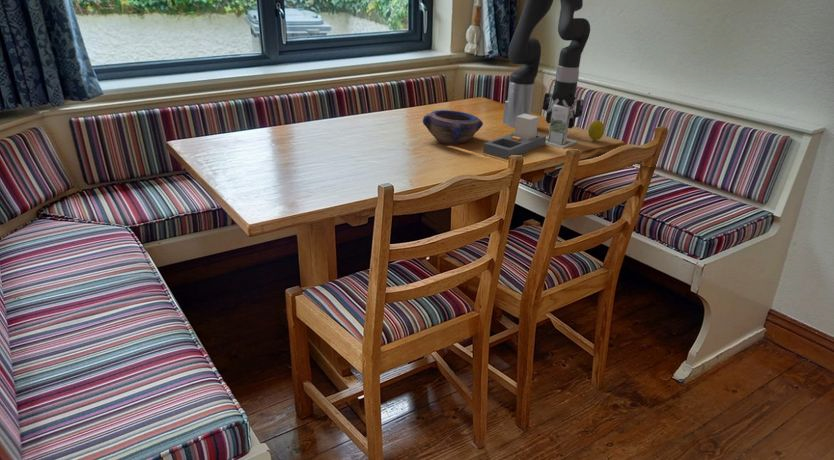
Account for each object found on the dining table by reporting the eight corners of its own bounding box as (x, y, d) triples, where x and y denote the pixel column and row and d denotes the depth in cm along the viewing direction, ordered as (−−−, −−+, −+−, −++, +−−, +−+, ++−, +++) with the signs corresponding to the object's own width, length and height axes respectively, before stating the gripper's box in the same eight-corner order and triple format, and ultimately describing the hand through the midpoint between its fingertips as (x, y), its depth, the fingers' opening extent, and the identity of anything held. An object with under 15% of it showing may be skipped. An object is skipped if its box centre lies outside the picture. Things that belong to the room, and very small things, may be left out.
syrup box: (566, 143, 222) (572, 104, 216) (562, 148, 217) (569, 107, 211) (550, 141, 224) (556, 101, 218) (546, 145, 219) (552, 105, 213)
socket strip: (482, 154, 206) (484, 140, 204) (520, 140, 223) (522, 127, 221) (507, 162, 200) (509, 148, 198) (544, 147, 217) (546, 133, 215)
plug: (513, 144, 215) (516, 116, 210) (521, 141, 219) (524, 113, 214) (526, 147, 212) (530, 119, 207) (534, 144, 216) (538, 116, 211)
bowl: (487, 142, 218) (490, 115, 214) (455, 152, 206) (457, 123, 202) (449, 131, 229) (451, 104, 225) (416, 140, 217) (417, 112, 213)
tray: (537, 144, 220) (537, 140, 219) (551, 138, 227) (551, 134, 226) (562, 150, 214) (563, 146, 213) (576, 145, 221) (576, 141, 220)
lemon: (602, 144, 224) (606, 122, 220) (587, 142, 225) (590, 121, 221) (601, 139, 229) (605, 118, 225) (586, 138, 230) (590, 117, 226)
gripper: (542, 77, 212) (536, 123, 219) (580, 84, 204) (572, 131, 211) (553, 74, 217) (547, 119, 224) (590, 81, 209) (582, 127, 216)
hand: (559, 125), depth 217 cm, fingers open, 8 cm apart
